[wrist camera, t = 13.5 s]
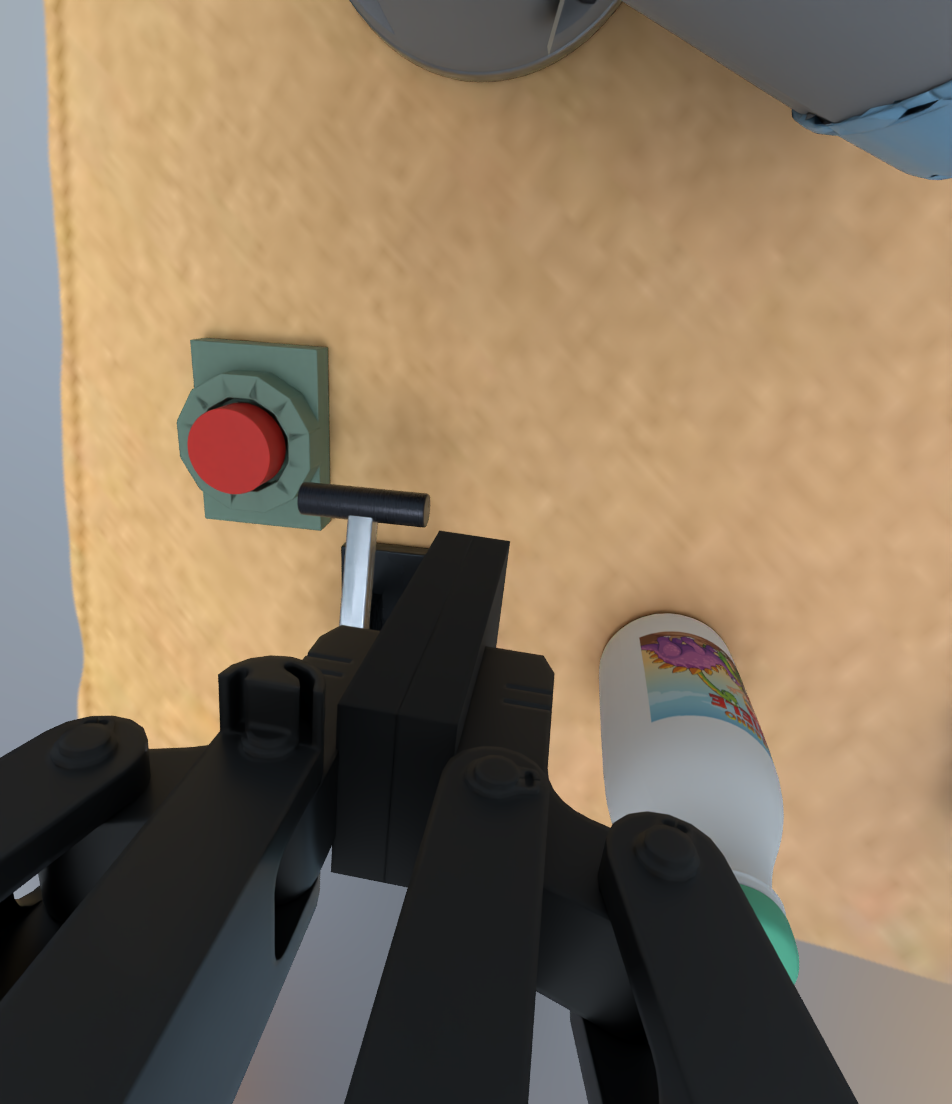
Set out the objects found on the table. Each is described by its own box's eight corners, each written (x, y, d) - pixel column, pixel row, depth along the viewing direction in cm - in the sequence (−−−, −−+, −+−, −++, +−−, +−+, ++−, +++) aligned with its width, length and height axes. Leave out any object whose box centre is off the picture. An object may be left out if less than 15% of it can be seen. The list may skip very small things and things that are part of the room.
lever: (314, 482, 31) (293, 480, 29) (433, 494, 31) (423, 493, 28) (292, 763, 32) (271, 784, 30) (407, 780, 32) (395, 802, 29)
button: (203, 398, 36) (183, 405, 34) (284, 406, 36) (267, 412, 34) (210, 480, 38) (190, 490, 36) (287, 488, 38) (271, 498, 36)
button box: (203, 337, 38) (168, 342, 35) (330, 347, 38) (307, 352, 34) (216, 509, 42) (186, 528, 39) (333, 522, 41) (311, 541, 38)
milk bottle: (659, 744, 43) (716, 1082, 25) (571, 664, 42) (563, 955, 24) (759, 670, 41) (907, 987, 22) (668, 583, 40) (744, 840, 21)
